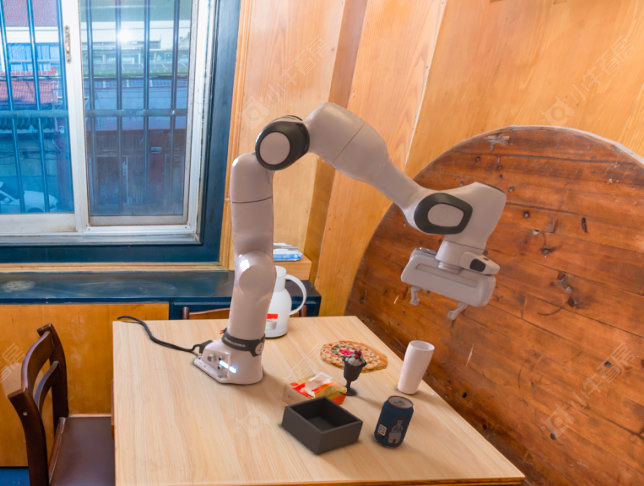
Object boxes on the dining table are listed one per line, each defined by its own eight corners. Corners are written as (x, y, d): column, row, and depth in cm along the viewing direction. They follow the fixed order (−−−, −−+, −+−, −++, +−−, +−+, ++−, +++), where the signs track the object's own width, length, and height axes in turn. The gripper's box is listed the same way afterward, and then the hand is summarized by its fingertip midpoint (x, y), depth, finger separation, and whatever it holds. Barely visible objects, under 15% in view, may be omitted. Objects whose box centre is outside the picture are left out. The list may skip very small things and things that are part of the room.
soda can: (386, 430, 135) (399, 392, 129) (407, 445, 129) (422, 405, 123) (366, 436, 132) (378, 397, 126) (387, 451, 127) (401, 411, 121)
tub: (280, 425, 136) (284, 406, 133) (320, 414, 141) (324, 395, 138) (316, 454, 125) (321, 434, 122) (357, 441, 130) (363, 421, 127)
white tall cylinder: (421, 397, 150) (438, 351, 142) (397, 394, 151) (412, 349, 144) (415, 386, 156) (431, 341, 148) (391, 383, 157) (406, 339, 149)
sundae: (347, 399, 148) (360, 353, 141) (330, 388, 154) (341, 343, 146) (363, 394, 151) (376, 348, 143) (345, 383, 156) (357, 339, 149)
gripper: (410, 244, 126) (386, 297, 132) (498, 269, 112) (468, 327, 118) (421, 245, 130) (397, 297, 136) (508, 269, 116) (478, 326, 122)
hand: (431, 311), depth 127 cm, fingers open, 8 cm apart
